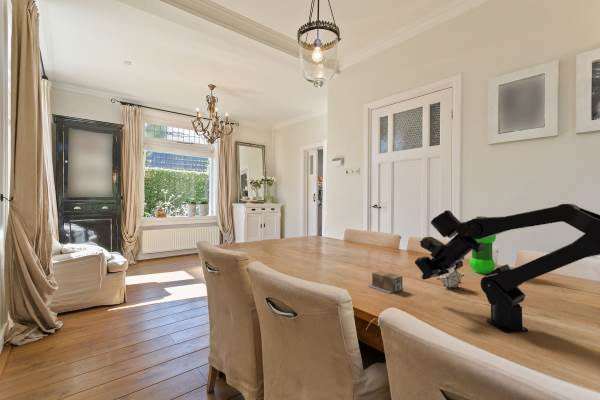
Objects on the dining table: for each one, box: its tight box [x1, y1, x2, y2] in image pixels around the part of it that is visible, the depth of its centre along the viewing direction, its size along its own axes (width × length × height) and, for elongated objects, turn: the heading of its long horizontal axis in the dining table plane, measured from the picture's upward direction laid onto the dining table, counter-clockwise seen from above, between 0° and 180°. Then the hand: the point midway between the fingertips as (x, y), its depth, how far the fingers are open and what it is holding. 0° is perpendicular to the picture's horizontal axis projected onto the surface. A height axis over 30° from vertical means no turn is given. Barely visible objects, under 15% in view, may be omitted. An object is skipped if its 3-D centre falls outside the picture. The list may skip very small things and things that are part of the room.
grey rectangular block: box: [371, 270, 404, 293], centre depth 104 cm, size 5×5×10 cm
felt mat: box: [368, 284, 395, 295], centre depth 105 cm, size 10×8×1 cm
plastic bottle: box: [469, 216, 497, 275], centre depth 124 cm, size 10×10×25 cm
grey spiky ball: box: [436, 267, 465, 290], centre depth 103 cm, size 9×8×10 cm
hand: (422, 278), depth 92 cm, fingers closed
